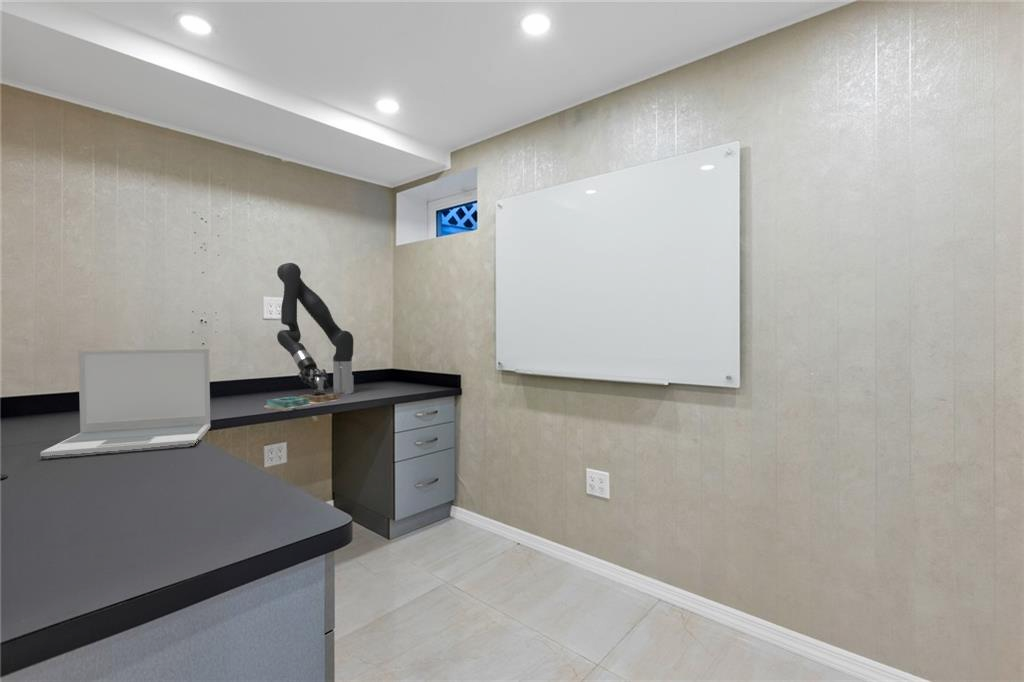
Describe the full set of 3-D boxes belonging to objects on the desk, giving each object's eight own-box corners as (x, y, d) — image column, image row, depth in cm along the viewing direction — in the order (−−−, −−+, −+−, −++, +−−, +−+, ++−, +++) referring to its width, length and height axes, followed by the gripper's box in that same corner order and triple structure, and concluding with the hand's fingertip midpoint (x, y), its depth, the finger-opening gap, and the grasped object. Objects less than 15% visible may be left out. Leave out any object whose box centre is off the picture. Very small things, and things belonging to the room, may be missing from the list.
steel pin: (320, 398, 227) (319, 371, 227) (327, 399, 225) (327, 372, 224) (311, 400, 223) (310, 372, 222) (318, 401, 220) (318, 373, 220)
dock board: (320, 399, 233) (320, 391, 233) (341, 401, 226) (341, 394, 226) (264, 407, 208) (264, 399, 208) (286, 411, 201) (285, 402, 200)
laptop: (40, 461, 127) (37, 355, 126) (82, 440, 151) (79, 350, 150) (195, 448, 141) (193, 352, 140) (210, 430, 165) (209, 348, 164)
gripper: (294, 357, 221) (312, 384, 215) (321, 355, 233) (338, 381, 228) (287, 368, 223) (304, 395, 218) (313, 365, 236) (330, 391, 230)
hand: (321, 388), depth 223 cm, fingers open, 5 cm apart
